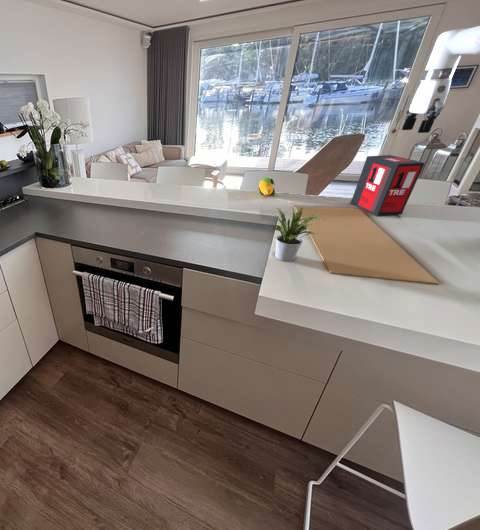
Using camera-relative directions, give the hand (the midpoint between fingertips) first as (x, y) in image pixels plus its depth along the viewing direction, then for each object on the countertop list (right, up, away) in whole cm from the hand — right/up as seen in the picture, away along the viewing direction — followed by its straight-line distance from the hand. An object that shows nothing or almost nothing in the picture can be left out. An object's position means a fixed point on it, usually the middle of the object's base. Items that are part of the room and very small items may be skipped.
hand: (414, 131), depth 106 cm
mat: (-29, -39, -5) cm, 49 cm away
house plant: (-57, -48, -17) cm, 76 cm away
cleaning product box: (-2, -26, +15) cm, 30 cm away
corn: (-34, -14, +40) cm, 55 cm away
